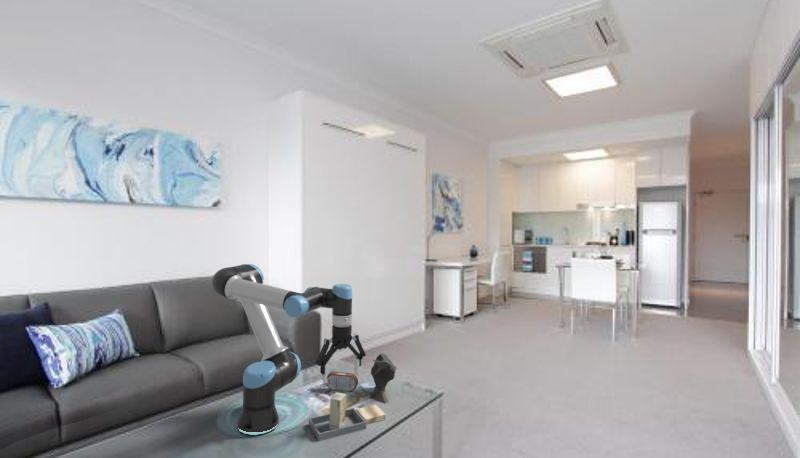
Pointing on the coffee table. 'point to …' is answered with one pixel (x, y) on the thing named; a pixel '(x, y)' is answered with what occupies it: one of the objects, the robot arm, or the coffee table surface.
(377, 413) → the pad
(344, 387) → the portable speaker
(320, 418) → the tray
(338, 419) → the skincare box
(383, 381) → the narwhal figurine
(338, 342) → the robot arm
